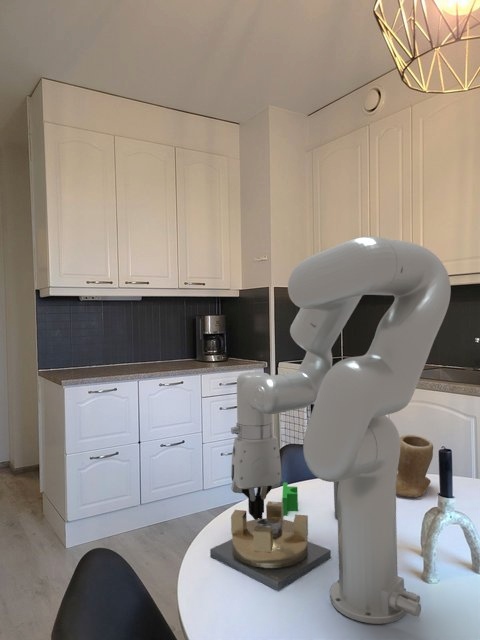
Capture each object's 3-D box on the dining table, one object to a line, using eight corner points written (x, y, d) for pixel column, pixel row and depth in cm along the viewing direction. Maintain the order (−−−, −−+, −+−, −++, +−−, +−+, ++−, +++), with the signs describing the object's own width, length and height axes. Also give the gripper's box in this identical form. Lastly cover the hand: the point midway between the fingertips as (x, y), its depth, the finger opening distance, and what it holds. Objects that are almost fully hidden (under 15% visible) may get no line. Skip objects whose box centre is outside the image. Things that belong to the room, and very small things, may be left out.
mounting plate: (330, 557, 94) (330, 549, 94) (278, 591, 83) (277, 581, 83) (264, 530, 107) (263, 523, 107) (210, 556, 96) (210, 548, 96)
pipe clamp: (298, 517, 115) (297, 498, 115) (282, 516, 115) (282, 497, 115) (297, 499, 126) (297, 482, 126) (283, 499, 126) (283, 482, 126)
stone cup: (428, 504, 120) (426, 445, 121) (381, 495, 127) (380, 439, 127) (441, 486, 133) (440, 433, 133) (398, 479, 140) (397, 428, 140)
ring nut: (311, 535, 100) (310, 503, 100) (303, 572, 86) (302, 534, 86) (242, 529, 104) (241, 498, 104) (223, 563, 90) (222, 527, 90)
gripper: (226, 438, 95) (228, 529, 95) (294, 431, 100) (295, 518, 100) (216, 430, 102) (217, 515, 102) (280, 424, 107) (281, 505, 107)
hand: (256, 516), depth 101 cm, fingers closed
